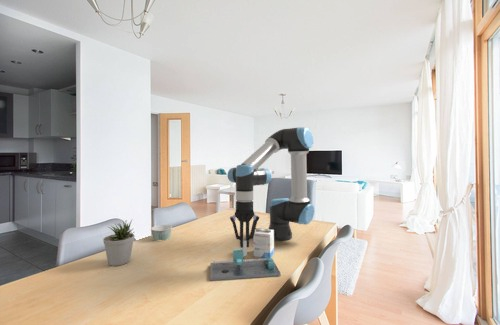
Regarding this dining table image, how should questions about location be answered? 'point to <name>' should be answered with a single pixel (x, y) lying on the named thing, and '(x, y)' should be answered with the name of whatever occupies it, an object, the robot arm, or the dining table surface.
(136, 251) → the dining table surface
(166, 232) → the food container
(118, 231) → the potted plant
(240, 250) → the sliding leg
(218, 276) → the bolt plate
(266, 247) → the ink box
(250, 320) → the dining table surface
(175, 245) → the dining table surface
